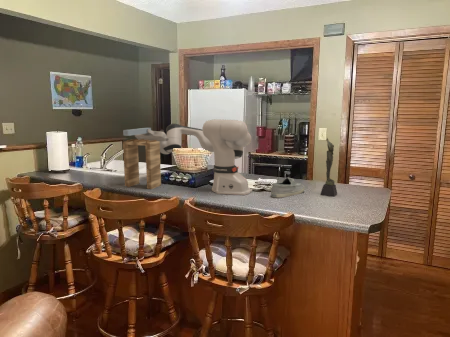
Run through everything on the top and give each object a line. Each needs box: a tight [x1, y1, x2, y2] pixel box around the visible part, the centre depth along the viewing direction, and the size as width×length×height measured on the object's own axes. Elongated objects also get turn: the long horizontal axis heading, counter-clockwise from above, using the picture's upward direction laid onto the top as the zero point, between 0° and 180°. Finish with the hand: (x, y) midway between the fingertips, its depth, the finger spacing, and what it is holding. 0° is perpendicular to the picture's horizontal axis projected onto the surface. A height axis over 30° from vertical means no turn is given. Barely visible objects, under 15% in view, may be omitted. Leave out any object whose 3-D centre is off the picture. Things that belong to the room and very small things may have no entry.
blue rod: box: [122, 127, 152, 137], centre depth 209 cm, size 3×23×3 cm, turn 158°
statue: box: [320, 137, 338, 198], centre depth 189 cm, size 7×8×30 cm
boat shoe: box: [270, 177, 305, 199], centre depth 192 cm, size 9×25×9 cm, turn 139°
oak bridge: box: [122, 138, 162, 190], centre depth 208 cm, size 18×10×27 cm, turn 69°
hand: (144, 130), depth 215 cm, fingers closed on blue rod, 3 cm apart
